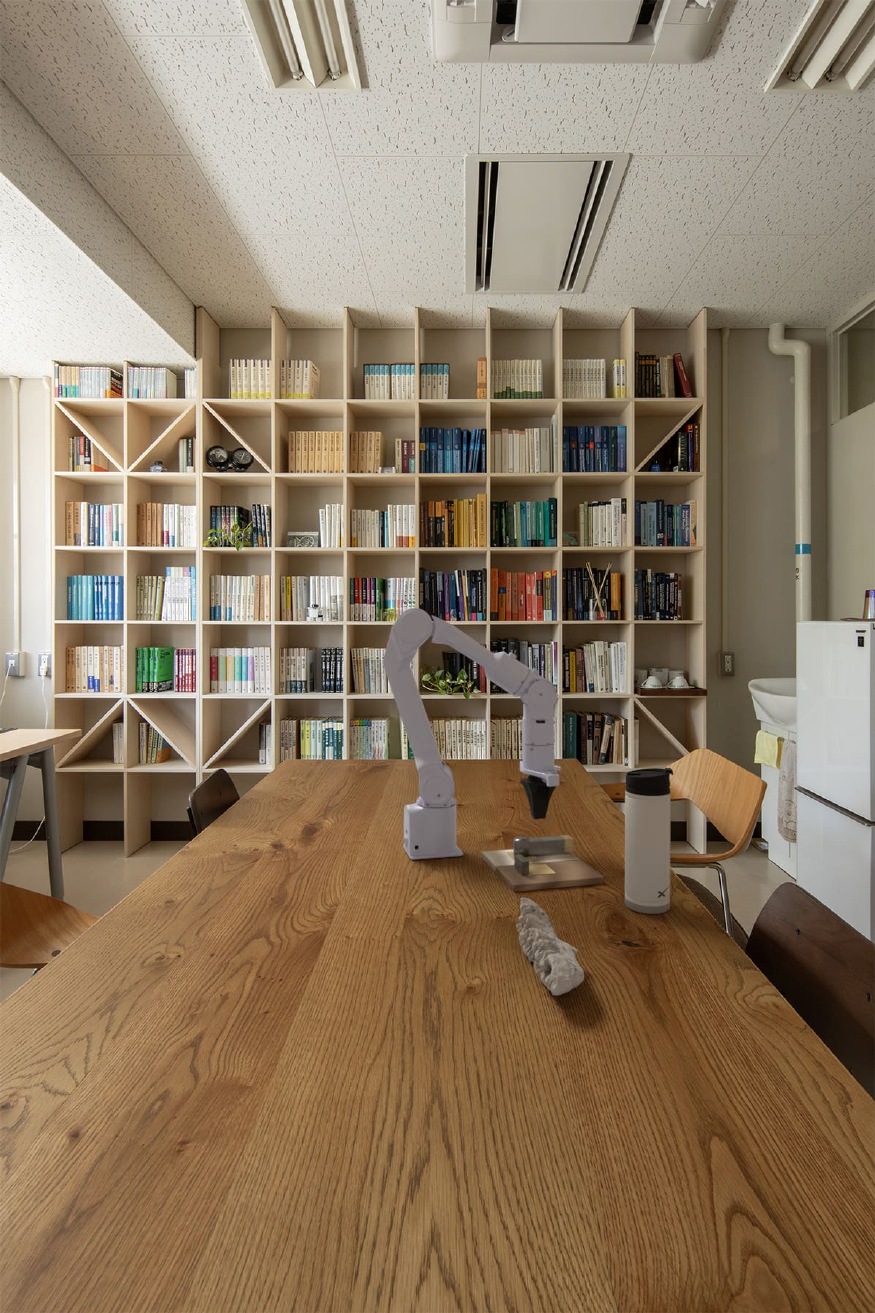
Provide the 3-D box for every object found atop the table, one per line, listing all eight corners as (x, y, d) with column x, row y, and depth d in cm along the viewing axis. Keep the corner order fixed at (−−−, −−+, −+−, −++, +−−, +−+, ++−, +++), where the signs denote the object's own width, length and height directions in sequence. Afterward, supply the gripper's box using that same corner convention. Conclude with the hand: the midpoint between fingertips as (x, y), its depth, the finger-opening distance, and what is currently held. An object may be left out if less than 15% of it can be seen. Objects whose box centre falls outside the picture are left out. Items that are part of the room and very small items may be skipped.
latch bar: (516, 857, 119) (516, 841, 119) (511, 852, 122) (511, 837, 122) (574, 853, 121) (574, 837, 121) (567, 848, 124) (567, 833, 124)
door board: (513, 891, 107) (513, 871, 107) (481, 857, 123) (481, 839, 123) (603, 883, 110) (604, 863, 110) (561, 851, 127) (561, 833, 127)
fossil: (508, 931, 93) (508, 894, 93) (553, 929, 93) (553, 892, 93) (549, 1016, 72) (549, 968, 72) (605, 1013, 73) (606, 965, 72)
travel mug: (675, 916, 97) (676, 773, 97) (626, 913, 98) (626, 771, 98) (669, 899, 103) (670, 765, 103) (623, 896, 105) (623, 763, 104)
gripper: (575, 748, 120) (576, 827, 120) (544, 736, 134) (544, 807, 135) (537, 750, 118) (537, 830, 119) (509, 738, 133) (509, 809, 133)
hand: (538, 818), depth 127 cm, fingers closed
